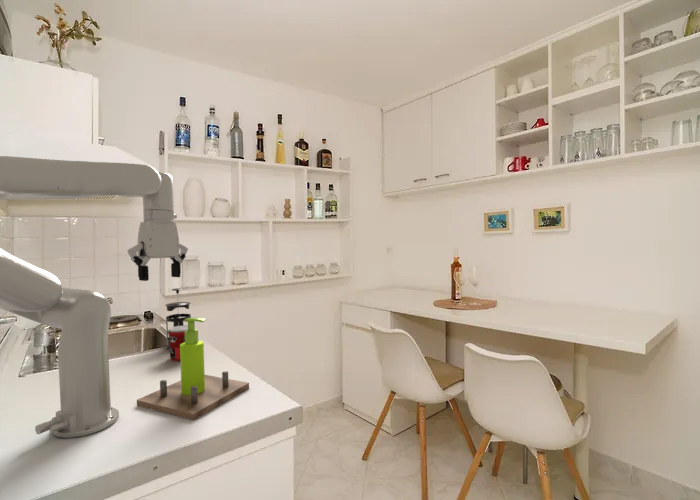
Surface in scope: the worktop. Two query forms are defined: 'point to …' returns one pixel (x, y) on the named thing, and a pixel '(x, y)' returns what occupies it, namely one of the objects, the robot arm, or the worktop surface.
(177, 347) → the canned food
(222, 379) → the peg stand
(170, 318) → the french press
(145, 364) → the worktop surface
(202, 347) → the soap dispenser
